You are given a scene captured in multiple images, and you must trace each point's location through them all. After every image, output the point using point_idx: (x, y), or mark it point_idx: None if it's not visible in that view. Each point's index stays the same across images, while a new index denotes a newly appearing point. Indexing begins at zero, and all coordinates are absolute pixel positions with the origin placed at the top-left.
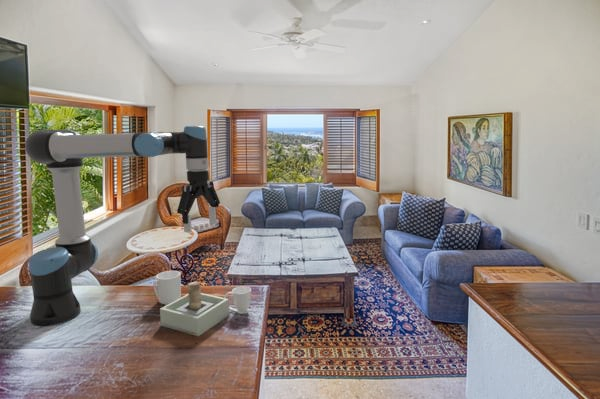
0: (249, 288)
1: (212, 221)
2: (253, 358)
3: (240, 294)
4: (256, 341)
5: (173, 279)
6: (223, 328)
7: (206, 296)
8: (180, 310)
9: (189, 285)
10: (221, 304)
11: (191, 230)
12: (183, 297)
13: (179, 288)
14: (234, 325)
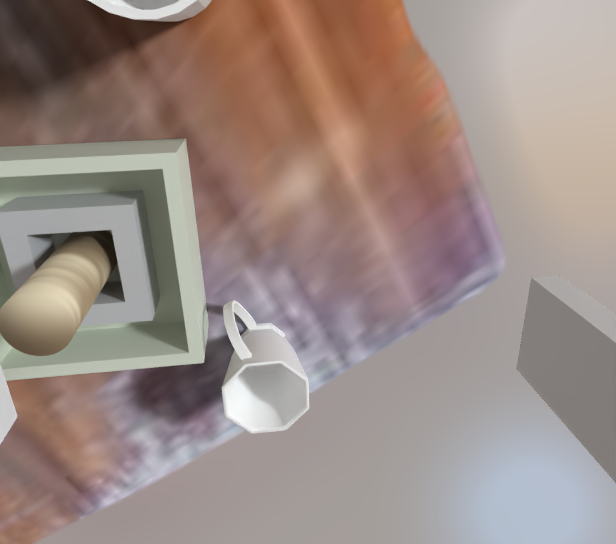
0: (300, 410)
1: (544, 349)
2: (48, 531)
3: (228, 417)
4: (121, 491)
5: (115, 13)
6: (117, 371)
7: (175, 253)
8: (2, 242)
9: (4, 318)
10: (151, 365)
11: (4, 436)
12: (84, 169)
13: (179, 17)
14: (157, 387)
